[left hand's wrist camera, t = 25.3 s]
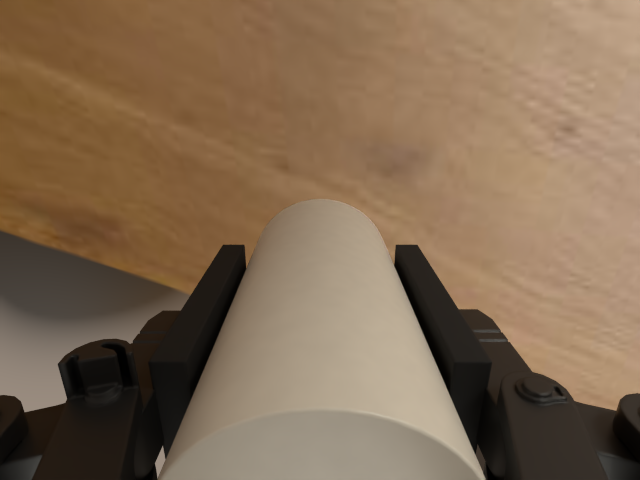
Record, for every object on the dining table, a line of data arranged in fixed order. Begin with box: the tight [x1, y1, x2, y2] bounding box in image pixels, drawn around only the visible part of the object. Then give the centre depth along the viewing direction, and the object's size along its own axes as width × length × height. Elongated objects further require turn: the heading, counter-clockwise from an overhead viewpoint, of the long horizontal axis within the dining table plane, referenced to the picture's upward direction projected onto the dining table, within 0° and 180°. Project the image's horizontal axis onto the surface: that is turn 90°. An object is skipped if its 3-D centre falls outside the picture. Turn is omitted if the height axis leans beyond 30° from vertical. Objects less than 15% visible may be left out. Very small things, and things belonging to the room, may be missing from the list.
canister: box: [157, 199, 486, 480], centre depth 11 cm, size 5×5×11 cm
